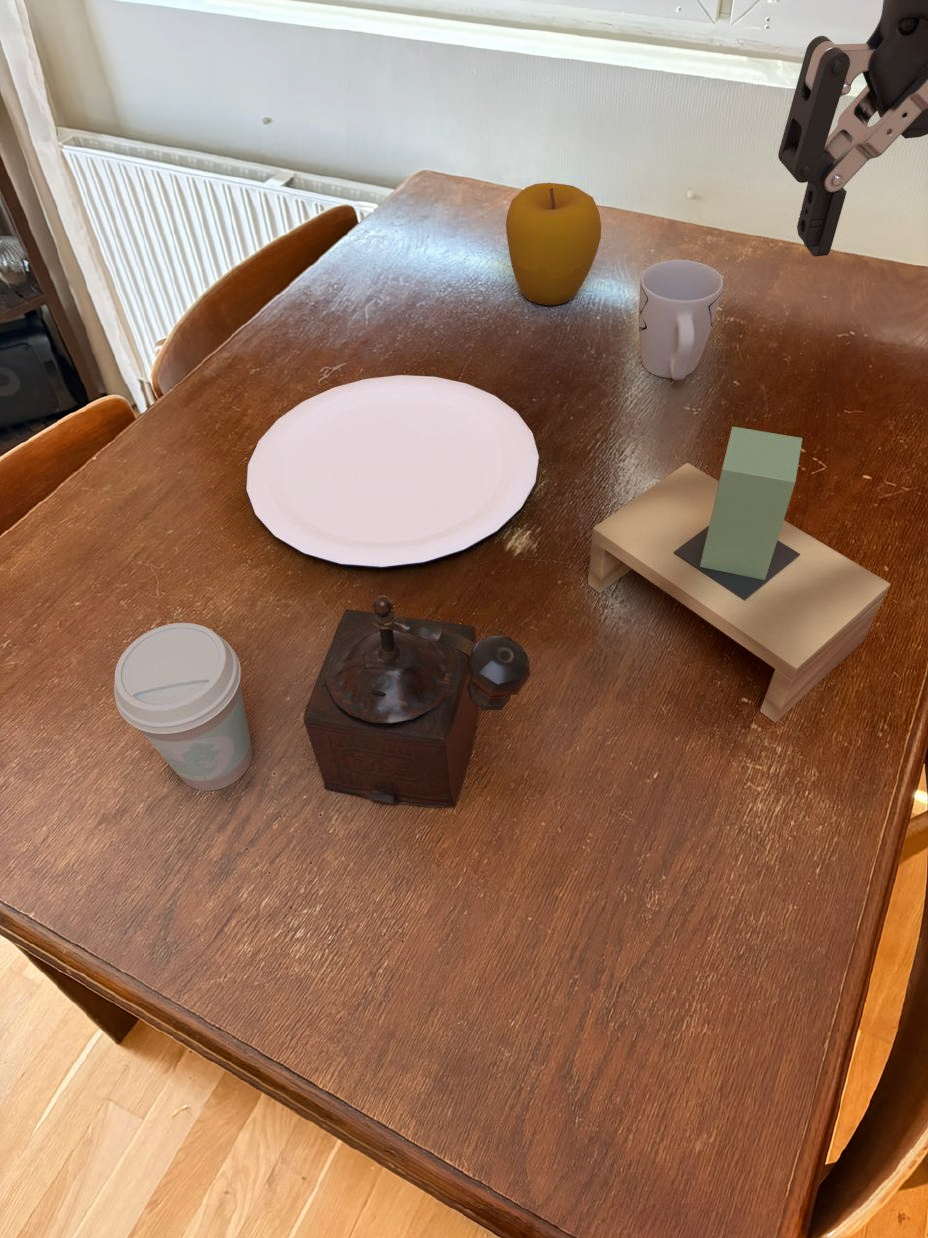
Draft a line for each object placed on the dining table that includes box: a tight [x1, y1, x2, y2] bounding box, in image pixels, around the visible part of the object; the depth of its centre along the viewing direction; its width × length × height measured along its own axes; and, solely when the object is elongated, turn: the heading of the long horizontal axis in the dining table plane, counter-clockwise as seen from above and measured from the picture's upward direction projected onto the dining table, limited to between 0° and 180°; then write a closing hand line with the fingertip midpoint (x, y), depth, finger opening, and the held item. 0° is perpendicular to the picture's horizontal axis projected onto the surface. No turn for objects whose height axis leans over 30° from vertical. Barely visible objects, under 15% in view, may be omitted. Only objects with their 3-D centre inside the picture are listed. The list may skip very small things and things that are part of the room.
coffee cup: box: [113, 622, 254, 792], centre depth 65 cm, size 8×9×12 cm
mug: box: [638, 259, 724, 381], centre depth 96 cm, size 11×8×10 cm
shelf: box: [587, 462, 891, 723], centre depth 74 cm, size 20×12×7 cm, turn 41°
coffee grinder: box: [303, 595, 531, 808], centre depth 62 cm, size 16×11×18 cm
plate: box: [246, 374, 540, 569], centre depth 90 cm, size 29×29×2 cm
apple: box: [505, 182, 602, 306], centre depth 106 cm, size 11×11×13 cm
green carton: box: [700, 426, 803, 580], centre depth 68 cm, size 5×5×10 cm
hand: (888, 242), depth 51 cm, fingers open, 8 cm apart
